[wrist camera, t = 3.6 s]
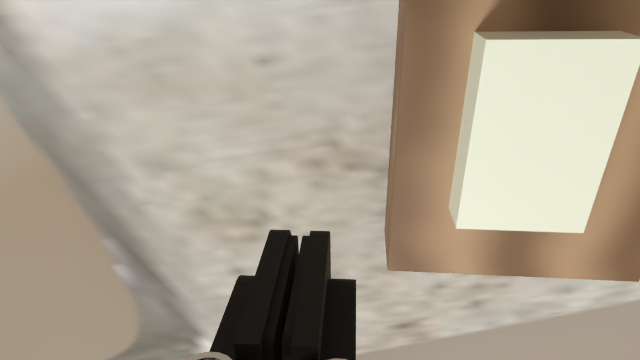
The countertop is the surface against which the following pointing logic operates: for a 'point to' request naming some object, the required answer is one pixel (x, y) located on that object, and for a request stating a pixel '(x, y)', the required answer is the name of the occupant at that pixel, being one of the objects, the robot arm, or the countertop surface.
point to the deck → (442, 141)
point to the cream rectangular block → (539, 127)
